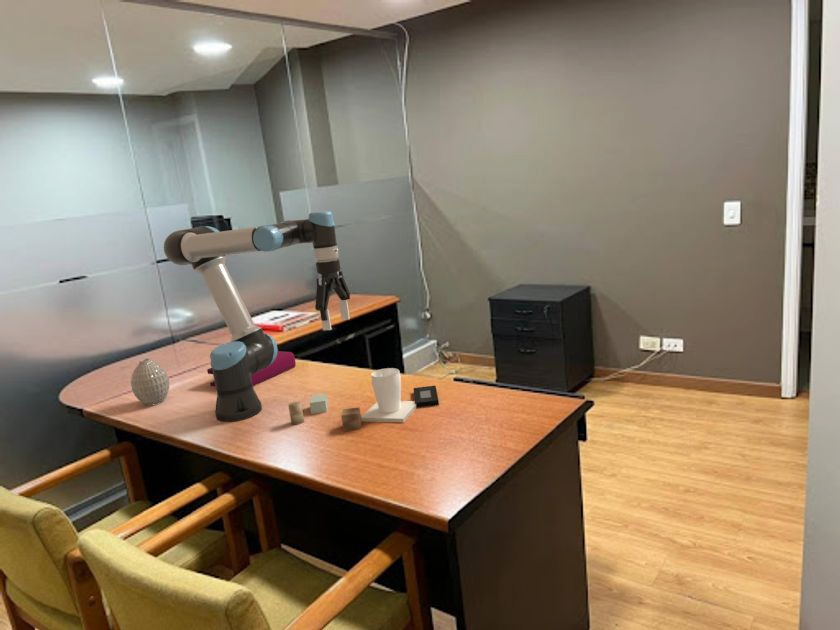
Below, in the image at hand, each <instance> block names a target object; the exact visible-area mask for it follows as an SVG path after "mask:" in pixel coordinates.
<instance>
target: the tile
mask: <svg viewBox="0 0 840 630" xmlns="http://www.w3.org/2000/svg"><path fill="white" fill-rule="evenodd" d="M416 409H417V408H416V404H415V400H413V401H412V400H410V401H409V400H401V408H400V409H399V410H398V411H396V412H392V413H383V412H380V411H379V407H378V404H377V401H376V402H375V403H374V404H373V405H372V406H371V407H370V408H369V409H368V410H367V411H366V412H364V414H363V415H361V422H372V423H373V422H375V423H376V422H378V423H405V422H406V421H407V420H408V419H409V417H410V416H411V415H412V414H413V412H414V411H416Z"/></svg>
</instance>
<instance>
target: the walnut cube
mask: <svg viewBox="0 0 840 630" xmlns="http://www.w3.org/2000/svg"><path fill="white" fill-rule="evenodd" d="M361 417H362V415H361V409H360V407H351V408H343V409H342V412H341V421H342V429H343V432H346V431H348V432H349V431H355V430H361V429H362V428H361V427H362V422H363V421H361Z"/></svg>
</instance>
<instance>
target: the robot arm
mask: <svg viewBox="0 0 840 630" xmlns="http://www.w3.org/2000/svg"><path fill="white" fill-rule="evenodd" d="M335 226H336V223H335V221H334V216H333V212H332V211H330V210H321V211H312V212H310V213H309V214H308V218H307V219H296V220H284V221H280V222H278V223H275V224H267V225H260V226H253V227H245V228H237V229H231V230H223V231H222V230H221V231H220V230H219V229H217V228H216V227H212V226H208V225H206V226H202V225H200V226H197V227H191V228H187V229H186V228H185V229H180V230H176V231H172V232H171V233H170V234H168V236H167V237H166V238H165V240H164V243H163V252H164V254H165V256H166V258H167V259H168V260H169V261H170V262H171V263H173V264H175V265H179V266H187V265H191V266H192V269H193V270H194V271H195V272H196V273H199V274H200V275H201V276H202V279H203V280H204V282H205V284H206V287H207V288H208V290H209V292H210V295H211V296H212V298H213V300H214V302H215V304H216V306H217V308H218V311H219V313H220V315H221V316H222V318H223V321H224V323H225V324H226V326H227V328H228V330H229V333H230V334H231V338H230V342H226V343H225V344H223V343H222V344H220V345H218V346H216V347H215V348H214V349H212V350H211V352H210V356H209V359H210V366H211V367H210V368H212V372H213V374H212V375H213V381H215V386H216V387H215V392H216V401H215V408H214V409H215V410H214V413H215V414H214V415H215V418H216V420H217V421H220V422H225V421H226V422H227V421H228V422H236V421H242V420H245V419H248V418H251V417H253V416H254V417H255V416H256V415H258V414H259V413H260V412H262V410H263V406H262V402H261V400H260V399H259V397H258V395H257V393H256V391H255V389H254V386H252V380H251V375H253V374H255V373H257V372H258V371H260V370H262V369H265V368H267V367H268V366H269V365H270V364H272V363H273V362H274V361H275V359H276V356H277V352H278V351H279V349H278V345H277V342H276V340H275V339H274V337H273V336H272V335H269V334H268V333H265V332H264V330H263V329H262V327H260V326H257V325H255V322H254V321H253V319H252V315H250V313H249V310H248V309H247V306H246V304H245V303H244V301H243V298H242V296H241V294H240V293H239V290H238V287H237V286H236V284H235V282H234V279H233V278H232V276H231V274H230V272H229V270H228V268H227V266H226V264H225V263H226V260H227V256H230V255H238V254H247V253H248V254H249V253H255V252H264V253H265V252H274V251H276V250H279V249H282V248H286V247H292V246H294V245H298V244H299V245H300V244H301V245H302V244H309V243H310V244H311V243H312V246H313V252H314V253H313V254H314V260H315V261H316V262H315V267H316V272H317V274H319V275H321V278H316V293H315V294H316V295H315V309H314V310H316V311H317V312H318V311H319V314H320V318H321V319H320V320H321V327H322V331H331V330H333V328H332V323H331V316H330V310H329V309H328V305H329V301H330V296H331V292H332V291H333V290H334V291H335V293H336V295H337V297H338V298H339V300H338V301H339V302H338V303H339V310H340V318H341V320H343V321H345V320H350V319H351V318H350V311H349V303H348V300H350V299H351V293H350V291H349V288H348V286H347V283H346V280H345V278H344V274H343V271H341V269H342V268H341V263H340V259H338V258H339V256H340V255H339V247H338V243H337V242H338V241H337V237H336V236H337V235H336V227H335Z"/></svg>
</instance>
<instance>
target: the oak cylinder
mask: <svg viewBox="0 0 840 630" xmlns="http://www.w3.org/2000/svg"><path fill="white" fill-rule="evenodd" d="M287 406H288V410H289V411H288V412H289V418H290V423H291V425H293V426H295V425H296V426H297V425H301V424H303V423H304V422H305V417H304V412H303V406H302V402H301V401H294V402H291V403H289V404H288V405H287Z"/></svg>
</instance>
